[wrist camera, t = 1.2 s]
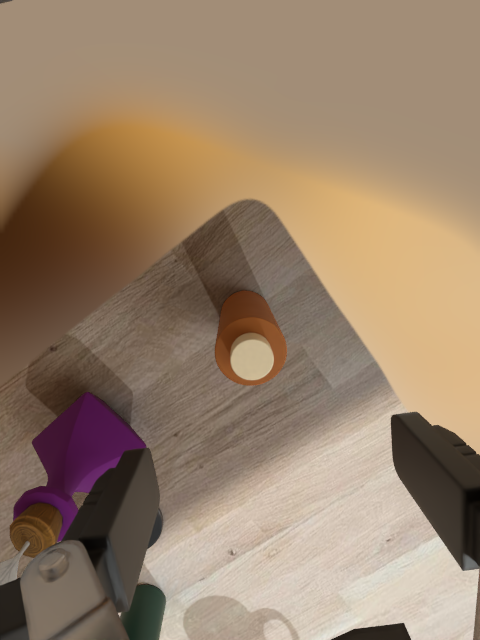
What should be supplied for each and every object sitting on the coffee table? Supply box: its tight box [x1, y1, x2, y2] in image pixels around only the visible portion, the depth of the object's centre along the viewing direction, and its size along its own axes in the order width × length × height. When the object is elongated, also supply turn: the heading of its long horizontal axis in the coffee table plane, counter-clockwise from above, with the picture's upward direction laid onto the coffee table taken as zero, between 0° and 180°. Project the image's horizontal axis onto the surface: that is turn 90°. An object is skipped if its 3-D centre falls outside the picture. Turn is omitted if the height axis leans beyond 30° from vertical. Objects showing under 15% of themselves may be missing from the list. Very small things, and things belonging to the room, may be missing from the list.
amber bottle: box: [215, 291, 287, 385], centre depth 27 cm, size 5×5×12 cm
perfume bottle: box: [0, 392, 146, 585], centre depth 27 cm, size 8×8×18 cm
